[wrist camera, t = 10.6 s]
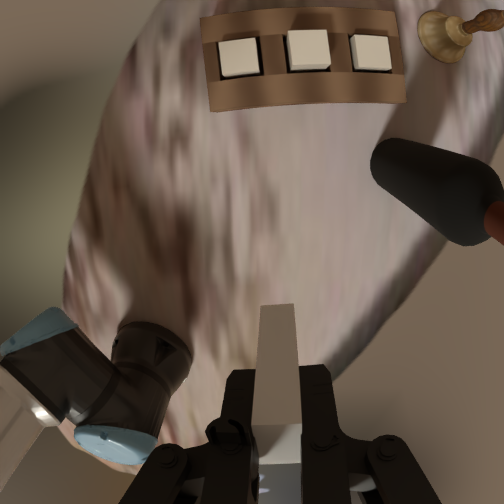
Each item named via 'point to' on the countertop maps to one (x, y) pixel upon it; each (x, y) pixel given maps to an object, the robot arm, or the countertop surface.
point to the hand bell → (454, 32)
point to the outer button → (369, 54)
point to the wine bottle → (443, 189)
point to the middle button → (308, 50)
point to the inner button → (239, 58)
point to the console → (301, 82)
